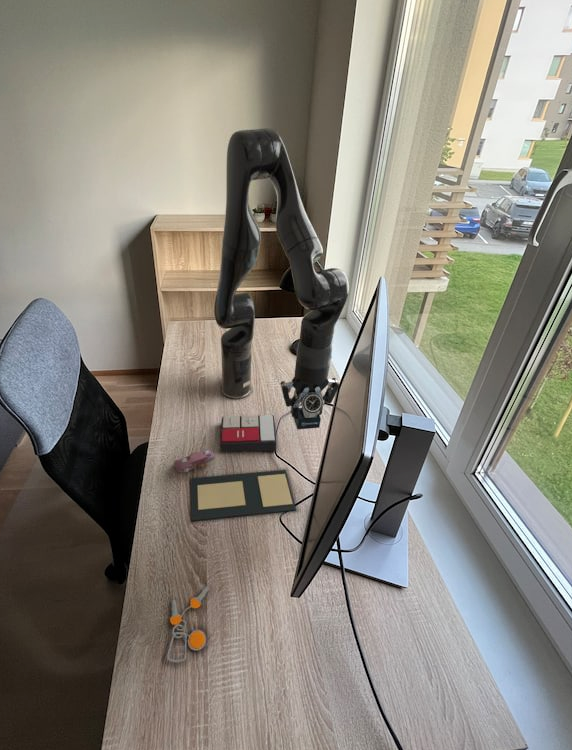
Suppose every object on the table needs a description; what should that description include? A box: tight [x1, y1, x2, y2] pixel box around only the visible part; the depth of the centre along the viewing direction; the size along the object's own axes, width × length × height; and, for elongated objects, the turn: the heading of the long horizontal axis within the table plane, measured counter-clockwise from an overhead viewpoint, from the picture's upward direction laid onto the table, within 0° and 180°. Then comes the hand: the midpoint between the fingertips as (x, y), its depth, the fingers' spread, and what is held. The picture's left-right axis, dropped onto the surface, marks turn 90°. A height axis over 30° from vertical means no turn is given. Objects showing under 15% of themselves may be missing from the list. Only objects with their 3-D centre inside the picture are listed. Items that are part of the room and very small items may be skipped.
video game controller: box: [173, 449, 215, 473], centre depth 102 cm, size 10×5×7 cm, turn 117°
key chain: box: [166, 586, 210, 664], centre depth 73 cm, size 13×7×1 cm, turn 178°
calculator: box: [219, 414, 277, 453], centre depth 111 cm, size 11×4×15 cm
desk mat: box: [190, 469, 297, 522], centre depth 96 cm, size 12×24×1 cm, turn 97°
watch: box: [292, 392, 324, 431], centre depth 97 cm, size 6×8×11 cm
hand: (305, 415), depth 98 cm, fingers closed on watch, 4 cm apart
